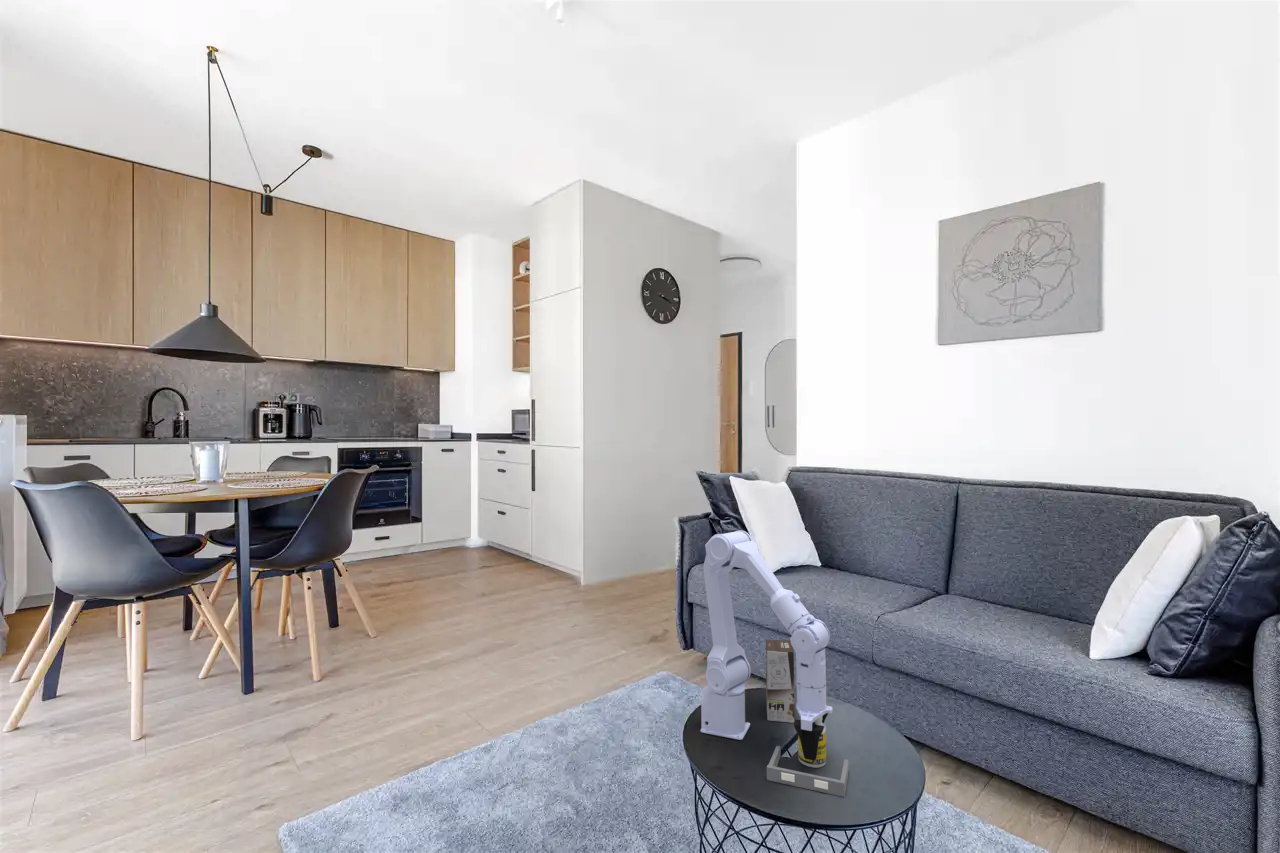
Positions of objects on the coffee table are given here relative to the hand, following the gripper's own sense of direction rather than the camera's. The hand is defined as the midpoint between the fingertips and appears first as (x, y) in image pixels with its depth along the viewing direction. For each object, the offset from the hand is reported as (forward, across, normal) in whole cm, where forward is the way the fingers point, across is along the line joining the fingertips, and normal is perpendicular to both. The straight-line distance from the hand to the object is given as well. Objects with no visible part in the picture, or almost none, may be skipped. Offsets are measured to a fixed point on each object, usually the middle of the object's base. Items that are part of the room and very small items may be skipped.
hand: (812, 751), depth 119 cm
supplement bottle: (+2, 0, 0) cm, 2 cm away
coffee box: (+2, +20, +10) cm, 22 cm away
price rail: (+2, -6, 0) cm, 6 cm away
